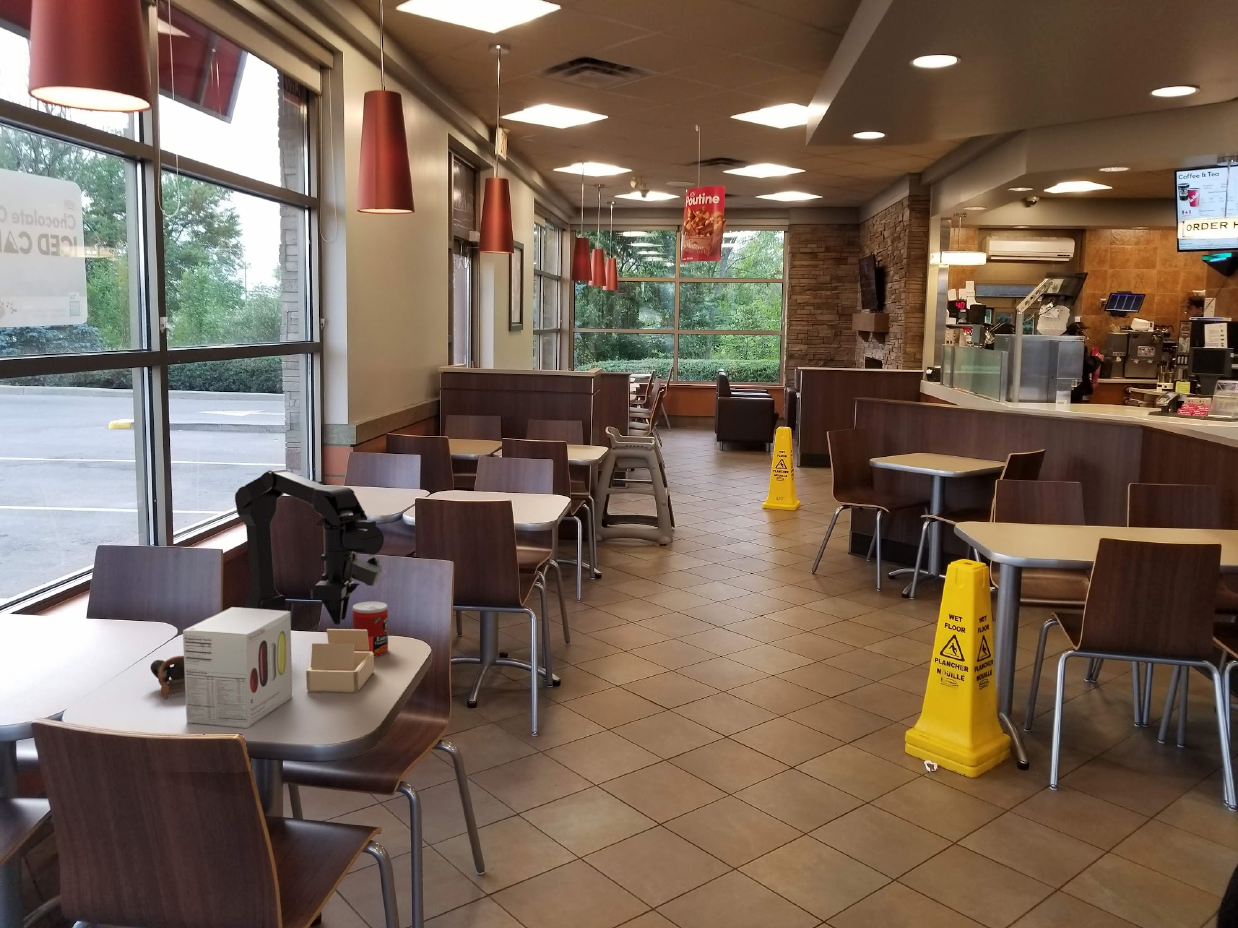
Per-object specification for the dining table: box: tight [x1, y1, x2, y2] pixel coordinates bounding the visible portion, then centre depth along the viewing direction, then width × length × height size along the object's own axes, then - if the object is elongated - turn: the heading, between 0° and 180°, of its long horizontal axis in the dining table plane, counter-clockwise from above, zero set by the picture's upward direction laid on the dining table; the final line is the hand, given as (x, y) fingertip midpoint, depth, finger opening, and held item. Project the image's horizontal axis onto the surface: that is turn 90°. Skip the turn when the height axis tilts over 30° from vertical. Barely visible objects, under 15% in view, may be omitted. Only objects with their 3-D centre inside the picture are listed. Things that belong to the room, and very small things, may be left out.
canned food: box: [352, 601, 389, 657], centre depth 227 cm, size 8×8×11 cm
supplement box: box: [182, 606, 293, 729], centre depth 191 cm, size 17×13×18 cm
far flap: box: [326, 628, 369, 650], centre depth 213 cm, size 9×5×1 cm
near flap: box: [310, 642, 354, 669], centre depth 202 cm, size 9×5×1 cm
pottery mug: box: [150, 655, 185, 700], centre depth 201 cm, size 12×10×8 cm
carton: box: [305, 651, 375, 694], centre depth 208 cm, size 11×13×4 cm
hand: (340, 621), depth 206 cm, fingers open, 3 cm apart
